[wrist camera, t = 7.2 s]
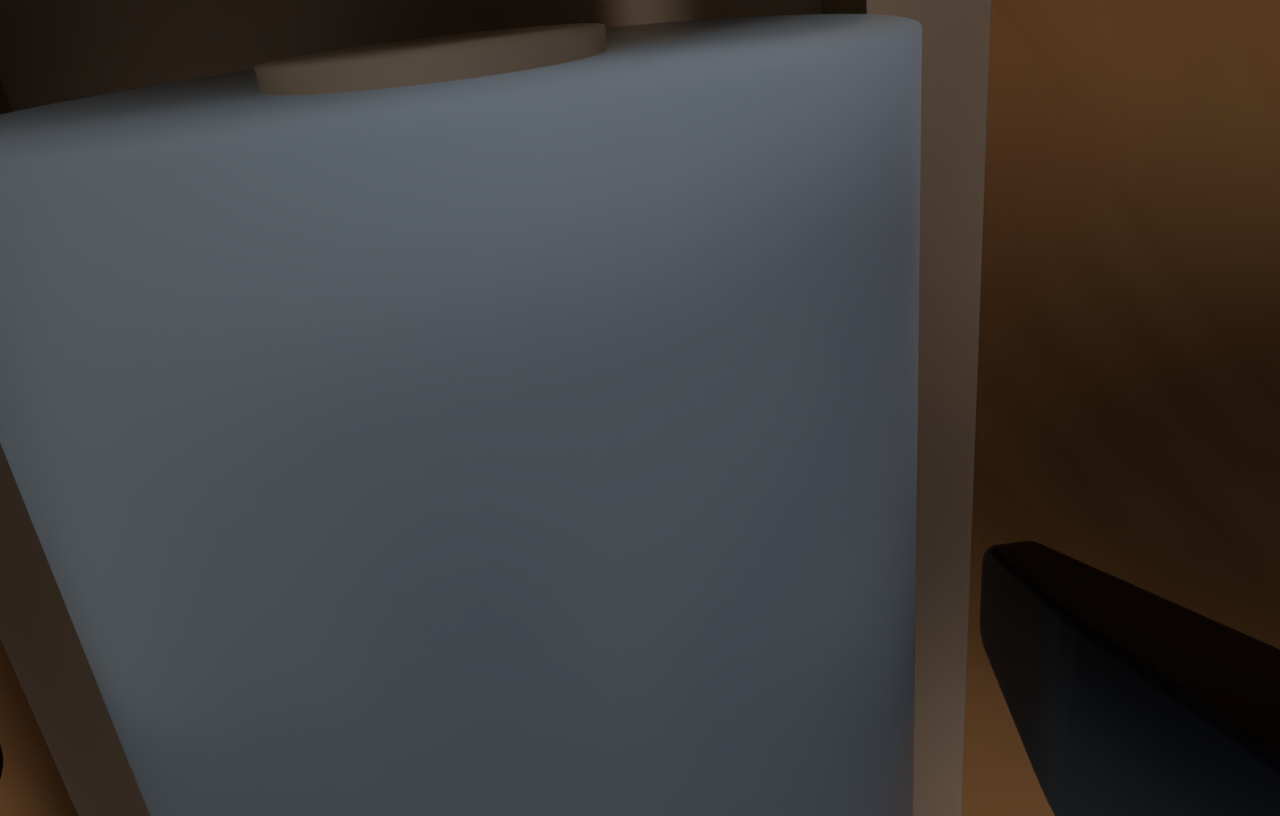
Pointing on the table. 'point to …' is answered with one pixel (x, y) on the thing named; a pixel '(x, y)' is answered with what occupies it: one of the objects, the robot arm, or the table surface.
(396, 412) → the roll
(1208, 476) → the table surface
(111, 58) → the holder
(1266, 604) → the table surface
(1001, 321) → the table surface
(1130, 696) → the robot arm
